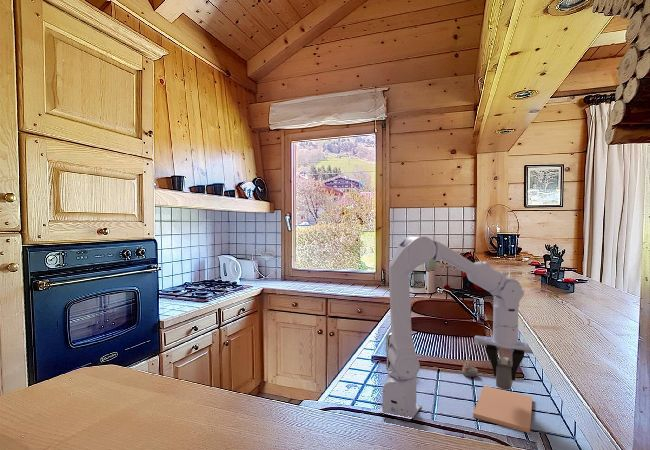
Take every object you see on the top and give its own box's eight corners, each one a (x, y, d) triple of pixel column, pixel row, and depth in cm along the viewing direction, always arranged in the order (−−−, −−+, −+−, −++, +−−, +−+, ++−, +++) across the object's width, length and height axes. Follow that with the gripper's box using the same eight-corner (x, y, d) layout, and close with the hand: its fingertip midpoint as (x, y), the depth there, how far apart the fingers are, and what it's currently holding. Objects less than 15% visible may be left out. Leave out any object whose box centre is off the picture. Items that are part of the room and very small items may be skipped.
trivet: (529, 433, 80) (529, 428, 80) (473, 417, 86) (473, 413, 86) (532, 400, 95) (532, 396, 95) (483, 389, 101) (484, 385, 101)
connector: (510, 390, 86) (511, 365, 86) (495, 387, 88) (495, 362, 88) (513, 378, 93) (513, 355, 93) (499, 375, 95) (499, 352, 95)
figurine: (481, 376, 109) (479, 356, 110) (472, 379, 107) (469, 359, 108) (468, 372, 114) (465, 353, 115) (458, 375, 112) (455, 356, 113)
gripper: (538, 325, 90) (537, 378, 90) (477, 316, 98) (476, 365, 98) (538, 332, 84) (537, 388, 84) (473, 322, 92) (472, 374, 92)
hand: (504, 377), depth 90 cm, fingers closed on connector, 3 cm apart
